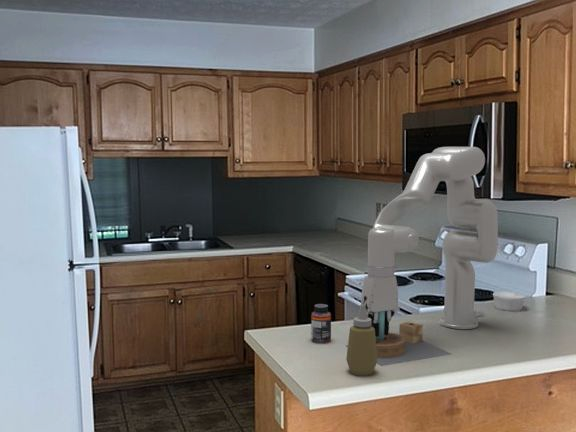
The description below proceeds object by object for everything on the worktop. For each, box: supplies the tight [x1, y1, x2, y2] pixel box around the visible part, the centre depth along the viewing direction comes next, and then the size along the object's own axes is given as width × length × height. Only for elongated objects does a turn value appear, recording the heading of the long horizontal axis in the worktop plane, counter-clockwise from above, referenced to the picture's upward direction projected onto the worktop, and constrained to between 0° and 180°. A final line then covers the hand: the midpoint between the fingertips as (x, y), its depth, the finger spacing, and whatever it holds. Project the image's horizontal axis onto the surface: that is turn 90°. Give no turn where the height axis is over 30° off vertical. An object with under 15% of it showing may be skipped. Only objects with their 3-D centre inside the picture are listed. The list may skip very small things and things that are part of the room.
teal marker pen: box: [375, 311, 385, 340], centre depth 178 cm, size 3×3×14 cm
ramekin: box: [492, 290, 526, 312], centre depth 230 cm, size 11×11×5 cm
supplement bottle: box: [310, 303, 332, 345], centre depth 187 cm, size 6×6×11 cm
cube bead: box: [398, 320, 424, 344], centre depth 188 cm, size 5×5×5 cm
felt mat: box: [345, 340, 452, 367], centre depth 179 cm, size 24×19×1 cm
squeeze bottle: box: [345, 304, 377, 376], centre depth 161 cm, size 8×8×18 cm
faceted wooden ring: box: [376, 331, 405, 358], centre depth 179 cm, size 14×14×4 cm
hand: (379, 334), depth 179 cm, fingers closed on teal marker pen, 2 cm apart
